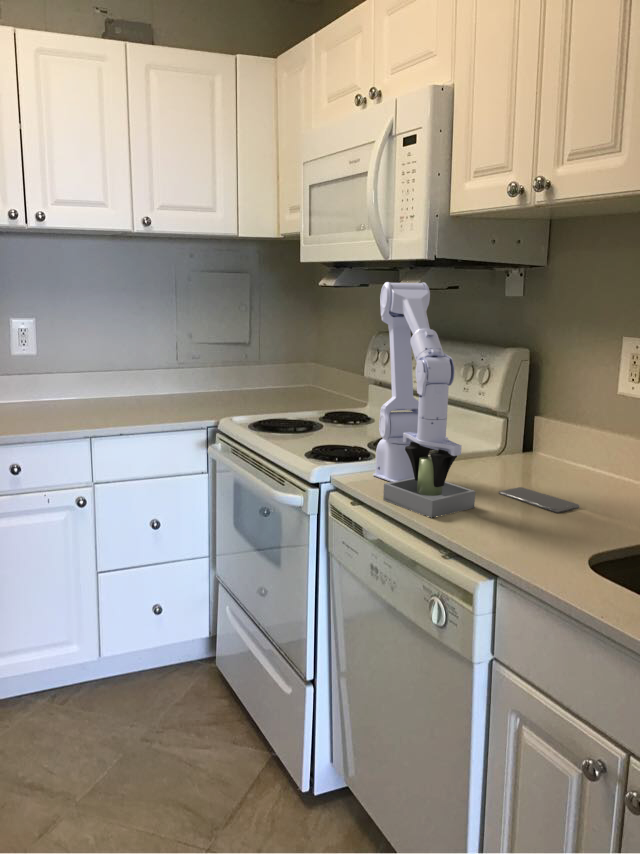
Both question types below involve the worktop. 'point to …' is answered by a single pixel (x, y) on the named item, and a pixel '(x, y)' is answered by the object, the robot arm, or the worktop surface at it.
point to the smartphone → (540, 500)
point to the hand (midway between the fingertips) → (429, 483)
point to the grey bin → (429, 498)
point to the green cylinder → (427, 478)
